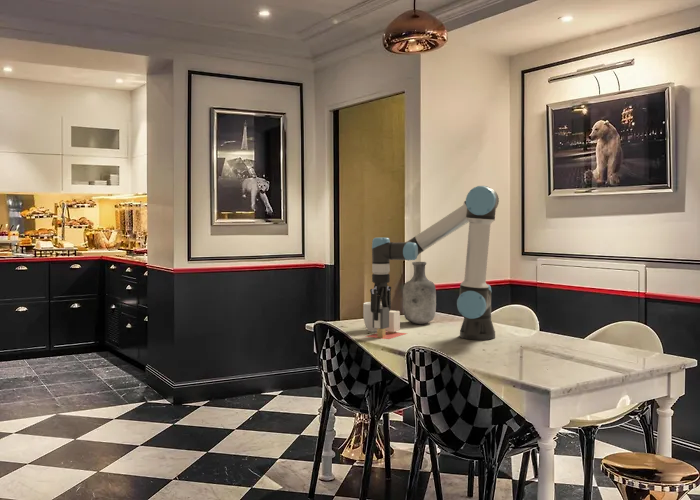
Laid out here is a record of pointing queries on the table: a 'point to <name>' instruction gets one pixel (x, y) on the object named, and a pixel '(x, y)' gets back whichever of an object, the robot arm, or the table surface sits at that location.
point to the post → (381, 333)
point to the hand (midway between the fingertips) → (381, 326)
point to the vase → (419, 297)
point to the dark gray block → (383, 317)
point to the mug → (369, 316)
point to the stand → (392, 326)
